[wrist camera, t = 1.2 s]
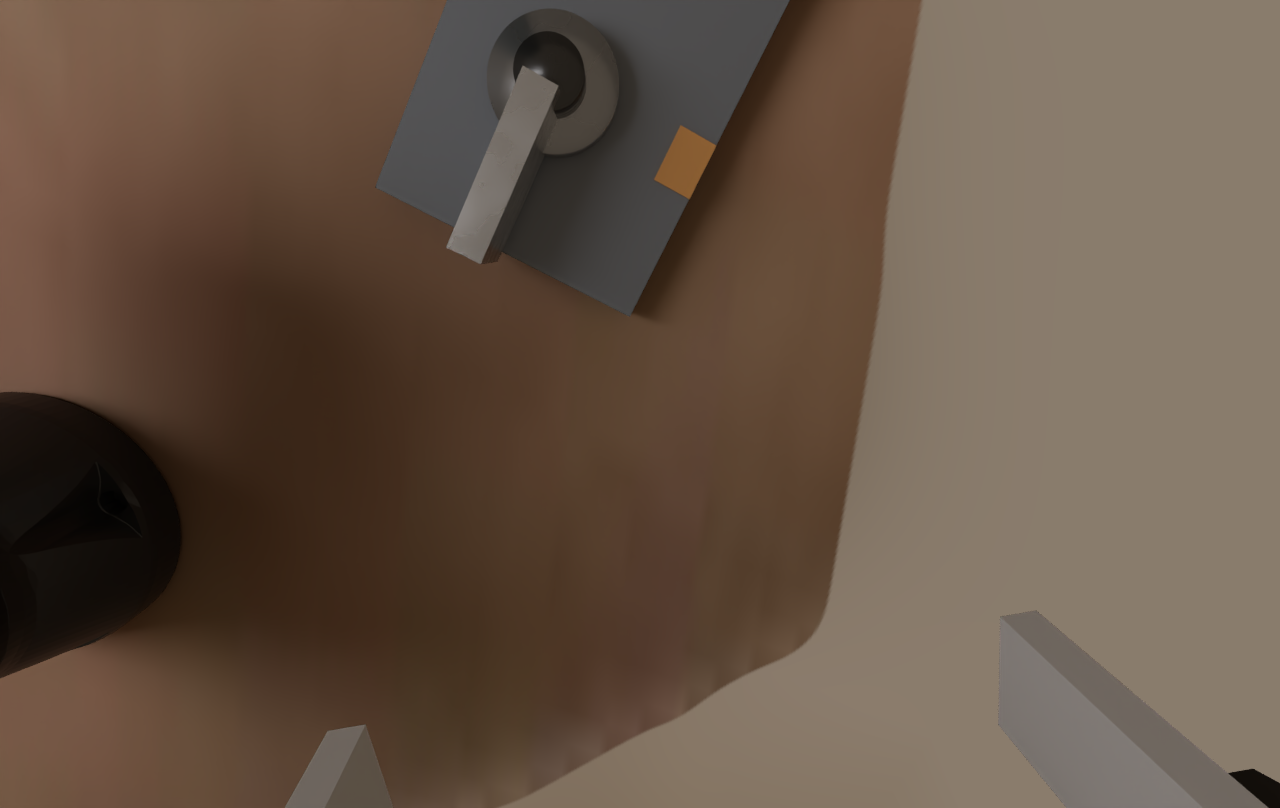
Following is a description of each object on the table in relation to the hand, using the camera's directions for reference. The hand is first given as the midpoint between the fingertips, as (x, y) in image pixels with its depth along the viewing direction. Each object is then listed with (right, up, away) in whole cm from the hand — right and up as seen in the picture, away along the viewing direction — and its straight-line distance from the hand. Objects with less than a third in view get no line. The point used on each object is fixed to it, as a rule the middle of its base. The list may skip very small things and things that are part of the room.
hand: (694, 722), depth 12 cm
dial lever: (-6, +19, +17) cm, 26 cm away
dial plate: (-3, +23, +18) cm, 30 cm away
